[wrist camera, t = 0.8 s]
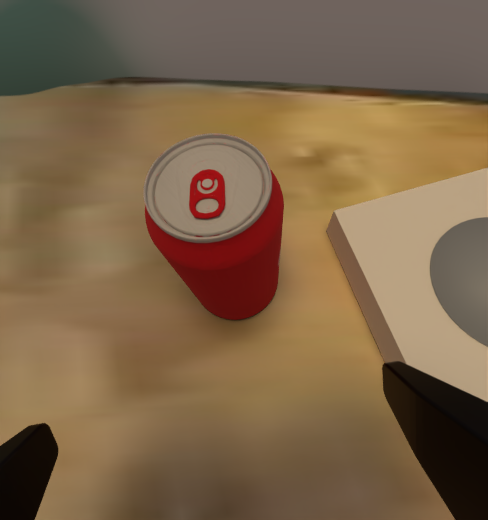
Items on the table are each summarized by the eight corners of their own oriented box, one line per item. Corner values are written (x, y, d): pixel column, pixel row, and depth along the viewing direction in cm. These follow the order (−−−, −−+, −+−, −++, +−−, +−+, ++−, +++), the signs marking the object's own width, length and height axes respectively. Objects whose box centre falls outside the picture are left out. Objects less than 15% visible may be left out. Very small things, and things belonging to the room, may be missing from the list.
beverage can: (274, 242, 24) (279, 117, 13) (281, 319, 21) (295, 246, 10) (196, 247, 24) (138, 130, 13) (195, 324, 22) (120, 258, 11)
